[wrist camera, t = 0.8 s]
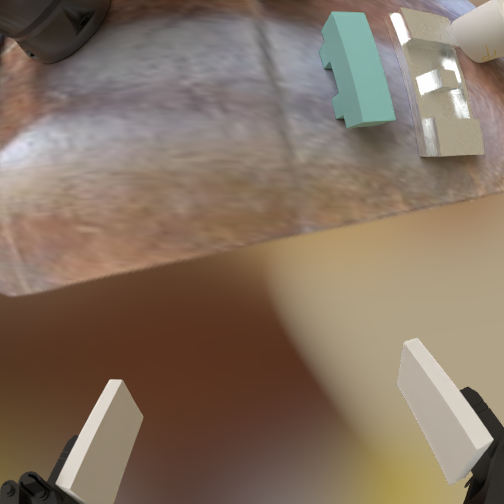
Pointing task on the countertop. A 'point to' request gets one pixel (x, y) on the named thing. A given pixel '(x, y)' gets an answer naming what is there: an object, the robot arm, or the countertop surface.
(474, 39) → the cup
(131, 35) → the countertop surface
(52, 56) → the robot arm
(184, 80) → the countertop surface
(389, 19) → the white block holder tray
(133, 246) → the countertop surface
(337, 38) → the teal notched block
